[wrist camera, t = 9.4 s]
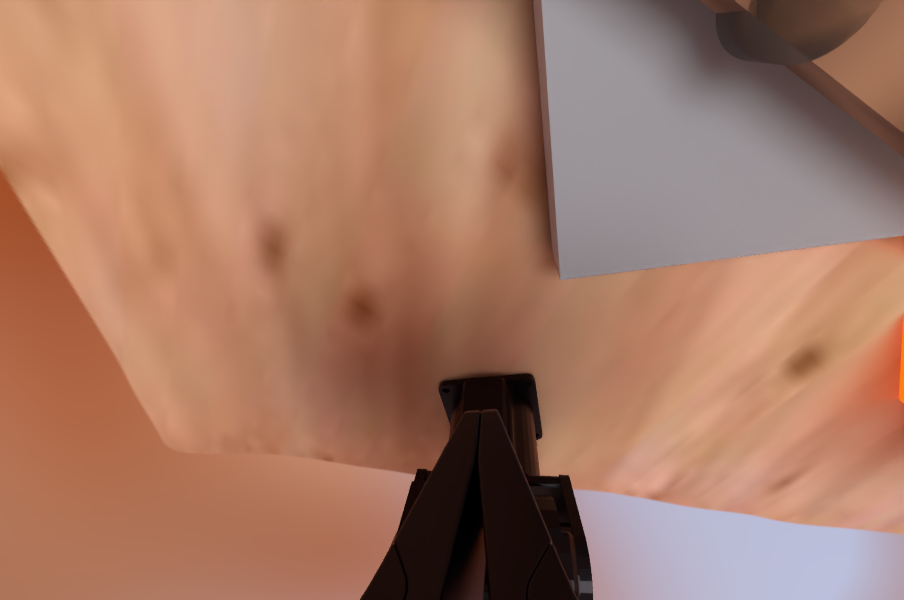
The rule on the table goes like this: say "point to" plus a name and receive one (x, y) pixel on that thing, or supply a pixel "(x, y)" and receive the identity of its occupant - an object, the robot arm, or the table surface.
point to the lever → (828, 51)
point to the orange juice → (902, 369)
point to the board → (693, 145)
